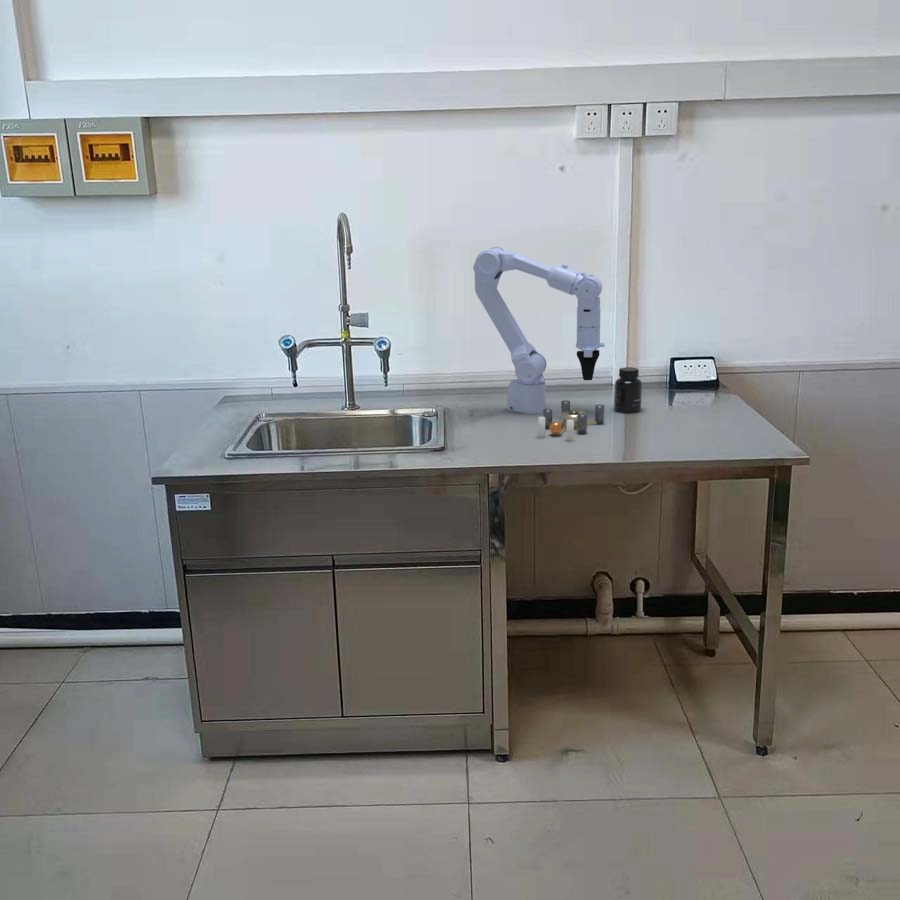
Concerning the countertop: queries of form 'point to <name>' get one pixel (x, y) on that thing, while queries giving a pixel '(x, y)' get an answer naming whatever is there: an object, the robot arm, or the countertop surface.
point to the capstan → (575, 415)
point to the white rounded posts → (569, 428)
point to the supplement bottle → (628, 391)
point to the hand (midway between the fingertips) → (587, 379)
